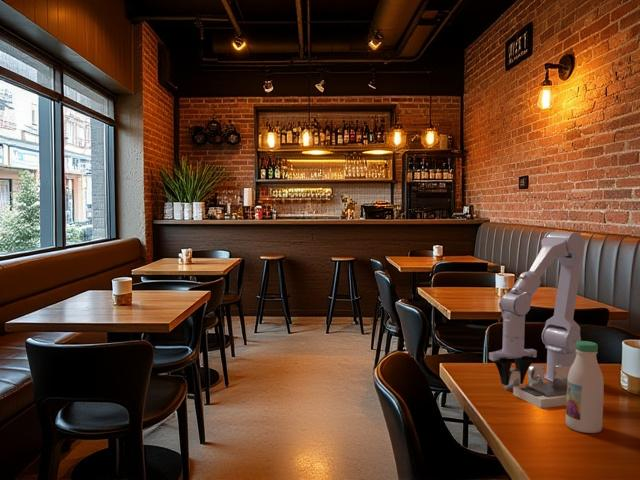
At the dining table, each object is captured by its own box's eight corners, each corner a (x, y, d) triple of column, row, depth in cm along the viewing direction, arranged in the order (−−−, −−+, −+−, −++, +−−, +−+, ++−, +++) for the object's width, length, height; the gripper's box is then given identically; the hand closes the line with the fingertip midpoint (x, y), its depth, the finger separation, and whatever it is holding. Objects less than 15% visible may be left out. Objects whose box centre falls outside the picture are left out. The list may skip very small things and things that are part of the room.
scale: (555, 389, 159) (555, 381, 159) (584, 402, 149) (585, 393, 149) (513, 394, 155) (513, 385, 155) (540, 408, 145) (540, 398, 144)
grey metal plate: (558, 382, 158) (558, 380, 158) (579, 391, 150) (580, 389, 150) (525, 386, 154) (525, 384, 154) (545, 395, 147) (545, 393, 147)
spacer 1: (513, 385, 163) (514, 366, 163) (523, 390, 159) (524, 370, 159) (500, 386, 162) (501, 367, 161) (510, 391, 157) (510, 372, 157)
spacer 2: (537, 382, 166) (537, 364, 166) (547, 387, 162) (548, 368, 162) (524, 383, 165) (525, 365, 164) (534, 388, 161) (535, 369, 160)
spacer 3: (562, 382, 156) (562, 363, 156) (574, 387, 152) (574, 367, 151) (549, 384, 155) (549, 364, 154) (560, 389, 150) (561, 368, 150)
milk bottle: (599, 423, 134) (602, 340, 133) (604, 436, 127) (607, 348, 126) (564, 419, 137) (567, 337, 136) (567, 431, 130) (570, 345, 129)
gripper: (525, 331, 165) (524, 377, 166) (483, 334, 161) (481, 381, 162) (542, 336, 159) (540, 384, 160) (498, 340, 154) (496, 389, 155)
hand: (512, 383), depth 160 cm, fingers closed on spacer 1, 4 cm apart
